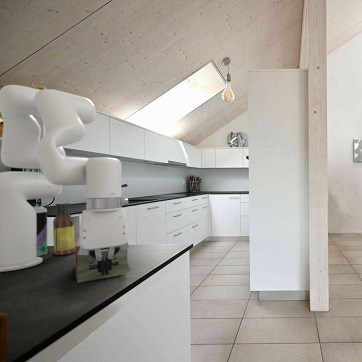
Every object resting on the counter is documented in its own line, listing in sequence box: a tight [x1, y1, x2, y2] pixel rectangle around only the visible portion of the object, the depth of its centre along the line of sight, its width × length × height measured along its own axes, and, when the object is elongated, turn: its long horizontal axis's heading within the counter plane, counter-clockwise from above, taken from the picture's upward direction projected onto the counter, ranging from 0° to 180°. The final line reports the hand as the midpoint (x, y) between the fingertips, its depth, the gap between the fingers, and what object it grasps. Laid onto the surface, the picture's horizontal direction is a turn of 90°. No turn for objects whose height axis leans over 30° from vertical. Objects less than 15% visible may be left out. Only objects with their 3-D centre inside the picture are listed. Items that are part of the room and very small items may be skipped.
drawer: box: [77, 248, 128, 284], centre depth 76 cm, size 18×11×8 cm, turn 38°
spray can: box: [31, 202, 48, 257], centre depth 99 cm, size 6×6×20 cm
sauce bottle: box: [52, 202, 76, 256], centre depth 100 cm, size 7×6×20 cm
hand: (104, 273), depth 68 cm, fingers closed
